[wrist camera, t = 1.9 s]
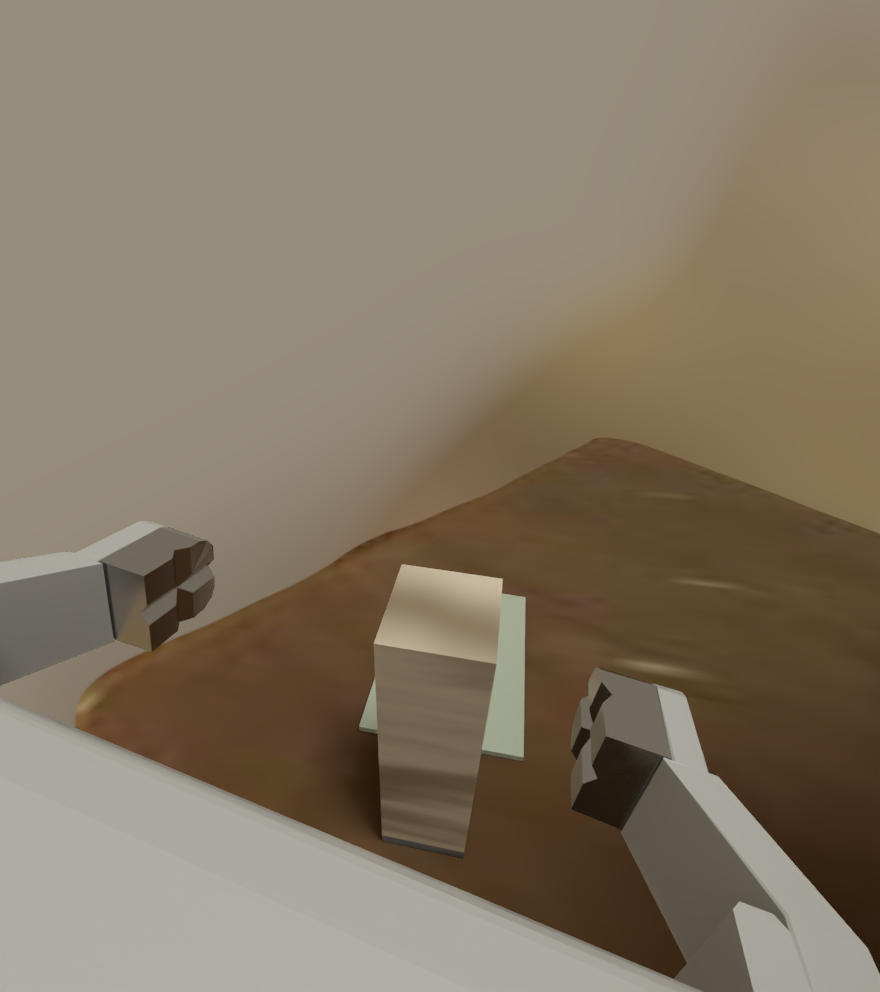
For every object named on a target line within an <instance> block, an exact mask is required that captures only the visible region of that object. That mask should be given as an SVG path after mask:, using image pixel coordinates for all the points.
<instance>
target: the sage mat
mask: <svg viewBox="0 0 880 992" xmlns="http://www.w3.org/2000/svg"><path fill="white" fill-rule="evenodd" d="M524 678H525V597H520V596H514V595H507V594H502V596H501V610H500V624H499V637H498V651H497V665H496V670H495V676H494V682H493V688H492V693H491V699H490V705H489V711H488V717H487V722H486V728H485V734H484V740H483V746H482V751H481V754H487V755H492V756H497V757H503V758H508V759H513V760H519V761H523V758H524ZM359 731H364V732H369V733H375V734H378V730H377V707H376V684H375V679H374V682H373V685H372V688H371V691H370V694H369V697H368V700H367V703H366V706H365V710H364V713H363V716H362V719H361V722H360V725H359Z"/></svg>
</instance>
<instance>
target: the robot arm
mask: <svg viewBox="0 0 880 992" xmlns="http://www.w3.org/2000/svg"><path fill="white" fill-rule="evenodd" d="M213 559H214V555H213V545H212V544H210V543H209V542H208V541H207V540H204V539H201V538H198V537H195V536H193V535H190V534H187V533H184V532H181V531H178V530H175V529H173V528H170V527H166V526H162V525H160V524H157V523H154V522H151V521H139V522H137V523H135V524H133V525H131V526H129V527H127V528H125V529H123V530H121V531H119V532H117V533H115V534H113V535H111V536H109V537H107V538H105V539H103V540H101V541H99V542H96V543H94V544H92V545H91V546H88V547H86V548H84V549H82V550H80V551H78V552H76V553H71V552H61V553H55V554H49V555H42V556H36V557H29V558H23V559H18V560H11V561H5V562H0V686H1V685H3V684H6V683H8V682H11V681H13V680H16V679H19V678H21V677H24V676H26V675H29V674H31V673H34V672H37V671H39V670H42V669H44V668H47V667H50V666H52V665H55V664H57V663H60V662H63V661H65V660H68V659H70V658H73V657H76V656H78V655H81V654H83V653H86V652H88V651H91V650H94V649H96V648H99V647H101V646H104V645H106V644H109V643H112V642H114V639H115V640H118V641H121V642H124V643H127V644H130V645H133V646H136V647H139V648H142V649H144V650H147V651H150V652H152V651H154V650H155V649H156V648H157V647H158V646H160V645H161V644H162V643H163V642H165V641H166V640H167V639H168V638H169V637H171V636H172V635H173V634H174V633H176V632H177V631H178V626H179V622H180V621H183V620H187V619H190V618H194V617H195V616H196V615H197V614H198V613H200V612H201V611H202V610H203V609H204V608H205V606H206V605H207V603H208V602H209V600H210V598H211V597H212V594H213V590H214V575H213V573H212V571H211V570H210V568H209V566H208V565H209V564H210V562H211V561H212V560H213ZM588 685H589V696H587V697H585V698H583V699H581V701H580V703H579V706H578V708H577V711H576V714H575V718H574V722H573V727H572V735H571V752H572V754H573V756H574V757H575V759H576V763H575V765H574V767H573V770H572V772H571V810H573V811H576V812H578V813H581V814H583V815H586V816H588V817H591V818H593V819H596V820H598V821H601V822H603V823H605V824H608V825H610V826H613V827H615V828H618V829H620V830H622V831H621V834H622V836H623V838H624V840H625V842H626V844H627V846H628V848H629V850H630V852H631V854H632V856H633V858H634V860H635V862H636V864H637V866H638V868H639V870H640V872H641V873H642V875H643V877H644V879H645V881H646V883H647V885H648V887H649V889H650V891H651V893H652V895H653V897H654V899H655V901H656V903H657V905H658V907H659V909H660V911H661V913H662V915H663V917H664V919H665V921H666V923H667V925H668V927H669V929H670V931H671V933H672V935H673V937H674V939H675V941H676V943H677V945H678V947H679V949H680V951H681V953H682V955H683V957H684V959H685V961H686V962H687V964H686V965H685V966H684V967H683V969H682V970H681V971H680V972H679V973H678V974H677V976H676V977H675V978H674V979H672V978H670V977H668V976H665V975H663V974H660V973H658V972H656V971H653V970H651V969H649V968H646V967H644V966H641V965H639V964H637V963H634V962H632V961H629V960H627V959H625V958H622V957H620V956H618V955H615V954H613V953H610V952H608V951H606V950H603V949H601V948H599V947H596V946H594V945H591V944H589V943H587V942H584V941H582V940H580V939H577V938H575V937H572V936H570V935H568V934H565V933H563V932H560V931H558V930H556V929H553V928H551V927H549V926H546V925H544V924H541V923H539V922H537V921H534V920H532V919H530V918H527V917H525V916H522V915H520V914H518V913H515V912H513V911H510V910H508V909H506V908H503V907H501V906H499V905H496V904H494V903H491V902H489V901H487V900H484V899H482V898H480V897H477V896H475V895H472V894H470V893H468V892H465V891H463V890H460V889H458V888H456V887H453V886H451V885H448V884H446V883H444V882H441V881H439V880H436V879H434V878H432V877H429V876H427V875H425V874H422V873H420V872H417V871H415V870H413V869H410V868H408V867H405V866H403V865H401V864H398V863H396V862H393V861H391V860H389V859H386V858H384V857H382V856H379V855H377V854H374V853H372V852H370V851H367V850H365V849H362V848H360V847H358V846H355V845H353V844H350V843H348V842H346V841H343V840H341V839H339V838H336V837H334V836H331V835H329V834H327V833H324V832H322V831H319V830H317V829H315V828H312V827H310V826H307V825H305V824H303V823H300V822H298V821H295V820H293V819H291V818H288V817H286V816H284V815H281V814H279V813H276V812H274V811H272V810H269V809H267V808H264V807H262V806H260V805H257V804H255V803H253V802H250V801H248V800H245V799H243V798H241V797H238V796H236V795H234V794H231V793H229V792H226V791H224V790H222V789H219V788H217V787H215V786H212V785H210V784H207V783H205V782H203V781H200V780H198V779H196V778H193V777H191V776H188V775H186V774H184V773H181V772H179V771H177V770H174V769H172V768H169V767H167V766H165V765H162V764H160V763H158V762H155V761H153V760H150V759H148V758H146V757H143V756H141V755H139V754H136V753H134V752H131V751H129V750H127V749H124V748H122V747H119V746H117V745H115V744H112V743H110V742H108V741H105V740H103V739H100V738H98V737H96V736H93V735H91V734H89V733H86V732H84V731H81V730H79V729H77V728H74V727H72V726H69V725H67V724H65V723H62V722H60V721H58V720H55V719H53V718H50V717H48V716H46V715H43V714H41V713H38V712H36V711H34V710H31V709H29V708H26V707H24V706H22V705H19V704H17V703H15V702H12V701H10V700H7V699H5V698H3V697H0V992H880V974H879V972H878V969H877V967H876V965H875V963H874V961H873V958H872V956H871V954H870V952H869V950H868V948H867V947H866V946H865V944H864V943H863V942H862V941H861V940H860V939H859V938H858V936H857V935H856V934H855V933H854V932H853V931H852V929H851V928H850V927H849V926H848V925H847V924H846V923H845V921H844V920H843V919H842V918H841V917H840V916H839V915H838V913H837V912H836V911H835V910H834V909H833V908H832V907H831V905H830V904H829V903H828V902H827V901H826V900H825V898H824V897H823V896H822V895H821V894H820V893H819V892H818V890H817V889H816V888H815V887H814V886H813V885H812V884H811V882H810V881H809V880H808V879H807V878H806V877H805V876H804V874H803V873H802V872H801V871H800V870H799V869H798V867H797V866H796V865H795V864H794V863H793V862H792V861H791V859H790V858H789V857H788V856H787V855H786V854H785V853H784V851H783V850H782V849H781V848H780V847H779V846H778V845H777V843H776V842H775V841H774V840H773V839H772V838H771V836H770V835H769V834H768V833H767V832H766V831H765V830H764V828H763V827H762V826H761V825H760V824H759V823H758V822H757V820H756V819H755V818H754V817H753V816H752V815H751V814H750V812H749V811H748V810H747V809H746V808H745V807H744V805H743V804H742V803H741V802H740V801H739V800H738V799H737V797H736V796H735V795H734V794H733V793H732V792H731V791H730V789H729V788H728V787H727V786H726V785H725V784H724V783H723V781H722V780H721V779H720V778H719V777H718V776H716V775H713V774H710V773H709V772H708V769H707V765H706V762H705V759H704V755H703V752H702V749H701V745H700V742H699V739H698V735H697V732H696V729H695V725H694V722H693V719H692V715H691V712H690V709H689V705H688V702H687V699H686V696H685V695H684V694H683V693H682V692H680V691H677V690H673V689H670V688H666V687H663V686H660V685H656V684H650V683H647V682H644V681H641V680H638V679H635V678H631V677H628V676H625V675H622V674H619V673H616V672H613V671H609V670H606V669H603V668H600V667H596V668H595V670H594V671H593V673H592V675H591V677H590V680H589V682H588Z"/></svg>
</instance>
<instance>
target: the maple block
mask: <svg viewBox="0 0 880 992" xmlns="http://www.w3.org/2000/svg"><path fill="white" fill-rule="evenodd" d="M502 582H503V579H500V578H493V577H486V576H479V575H472V574H465V573H459V572H452V571H445V570H438V569H431V568H424V567H417V566H410V565H403V564H402V565H401V568H400V571H399V574H398V577H397V580H396V582H395V585H394V588H393V591H392V594H391V597H390V599H389V602H388V605H387V608H386V611H385V613H384V616H383V619H382V622H381V625H380V628H379V630H378V633H377V636H376V639H375V642H374V660H375V684H376V707H377V730H378V754H379V777H380V800H381V824H382V841H384V842H389V843H393V844H398V845H403V846H407V847H412V848H417V849H421V850H426V851H431V852H436V853H440V854H445V855H450V856H454V857H459V858H463V856H464V850H465V844H466V838H467V832H468V827H469V821H470V815H471V809H472V804H473V798H474V792H475V786H476V780H477V775H478V769H479V763H480V757H481V751H482V746H483V740H484V734H485V728H486V722H487V717H488V711H489V705H490V699H491V693H492V688H493V682H494V676H495V670H496V665H497V651H498V637H499V624H500V610H501V596H502Z"/></svg>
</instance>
